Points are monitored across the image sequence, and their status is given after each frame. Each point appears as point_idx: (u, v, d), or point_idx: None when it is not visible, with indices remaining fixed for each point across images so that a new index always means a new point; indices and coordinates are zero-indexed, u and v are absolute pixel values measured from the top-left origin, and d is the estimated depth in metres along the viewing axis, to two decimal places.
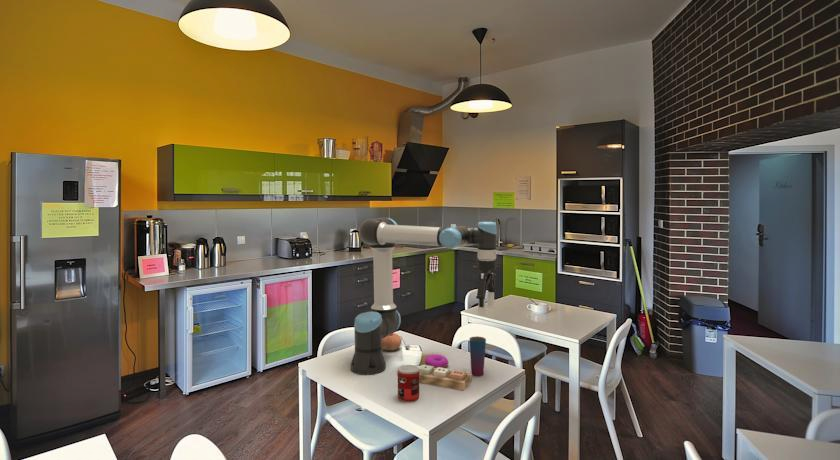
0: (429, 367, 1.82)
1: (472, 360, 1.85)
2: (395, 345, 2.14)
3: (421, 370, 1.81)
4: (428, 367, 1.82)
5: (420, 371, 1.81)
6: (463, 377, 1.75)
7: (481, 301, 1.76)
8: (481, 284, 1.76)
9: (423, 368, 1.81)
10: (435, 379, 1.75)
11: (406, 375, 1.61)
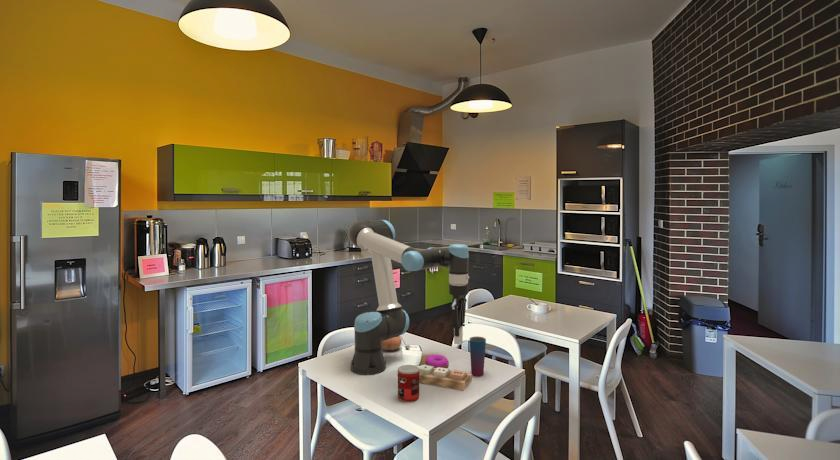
0: (429, 367, 1.82)
1: (472, 360, 1.85)
2: (395, 345, 2.14)
3: (421, 370, 1.81)
4: (428, 367, 1.82)
5: (420, 371, 1.81)
6: (463, 377, 1.75)
7: (456, 330, 1.73)
8: (454, 314, 1.71)
9: (423, 368, 1.81)
10: (435, 379, 1.75)
11: (406, 375, 1.61)
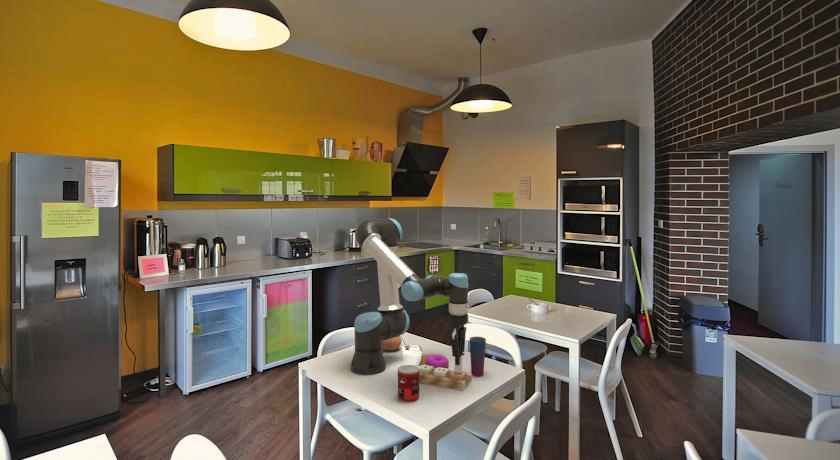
0: (429, 367, 1.82)
1: (472, 360, 1.85)
2: (395, 345, 2.14)
3: (421, 370, 1.81)
4: (428, 367, 1.82)
5: (420, 371, 1.81)
6: (463, 377, 1.75)
7: (457, 359, 1.74)
8: (454, 344, 1.71)
9: (423, 368, 1.81)
10: (435, 379, 1.75)
11: (406, 375, 1.61)
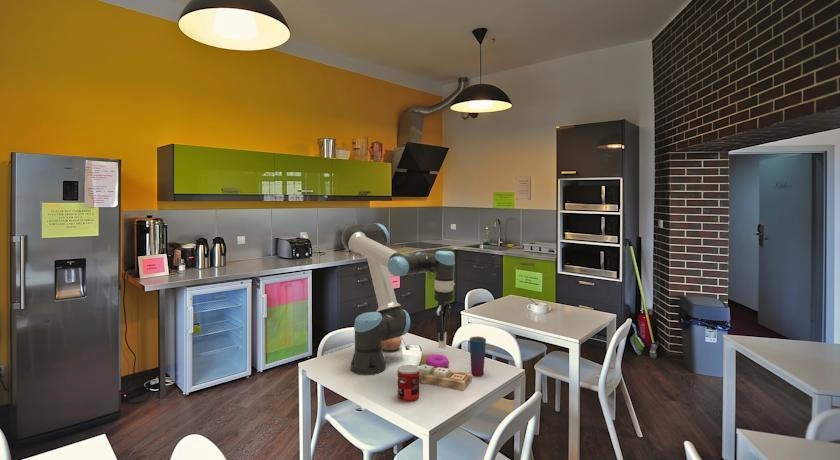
0: (429, 367, 1.82)
1: (472, 360, 1.85)
2: (395, 345, 2.14)
3: (421, 370, 1.81)
4: (428, 367, 1.82)
5: (420, 371, 1.81)
6: None
7: (441, 335, 1.77)
8: (439, 320, 1.74)
9: (423, 368, 1.81)
10: (435, 379, 1.75)
11: (406, 375, 1.61)
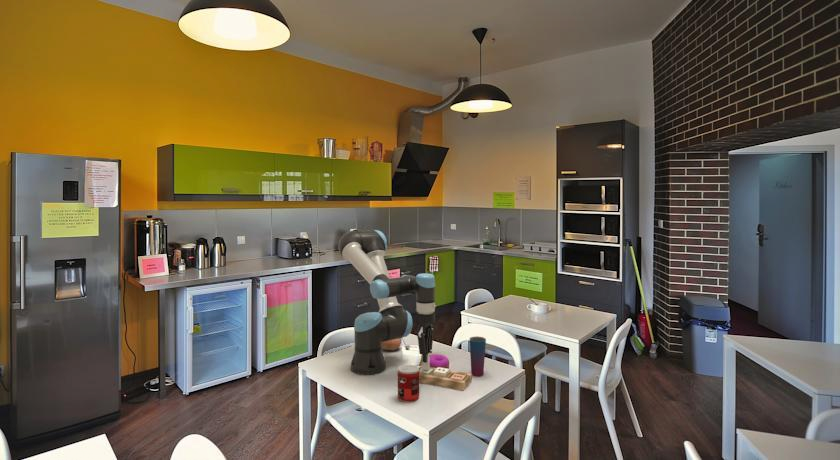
0: (429, 370, 1.83)
1: (472, 360, 1.85)
2: (395, 345, 2.14)
3: None
4: (428, 370, 1.83)
5: None
6: None
7: (424, 357, 1.80)
8: (421, 342, 1.77)
9: (423, 371, 1.81)
10: (435, 379, 1.75)
11: (406, 375, 1.61)
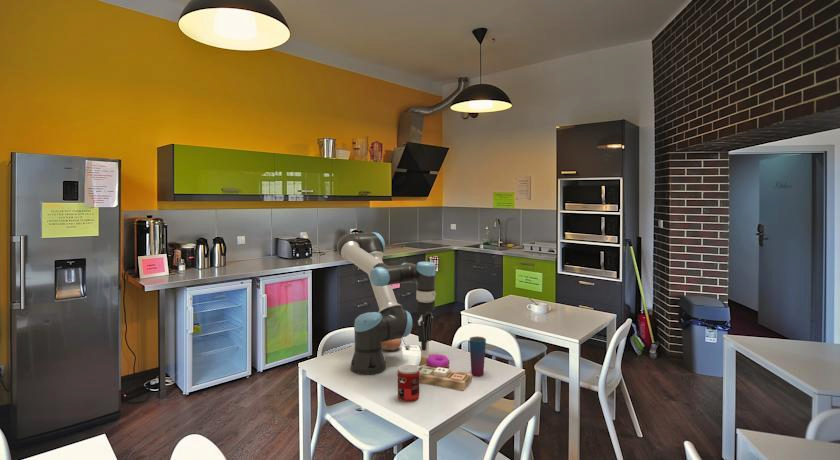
0: (429, 371, 1.83)
1: (472, 360, 1.85)
2: (395, 345, 2.14)
3: None
4: (428, 371, 1.83)
5: None
6: None
7: (423, 344, 1.80)
8: (420, 330, 1.77)
9: (423, 372, 1.81)
10: (435, 379, 1.75)
11: (406, 375, 1.61)
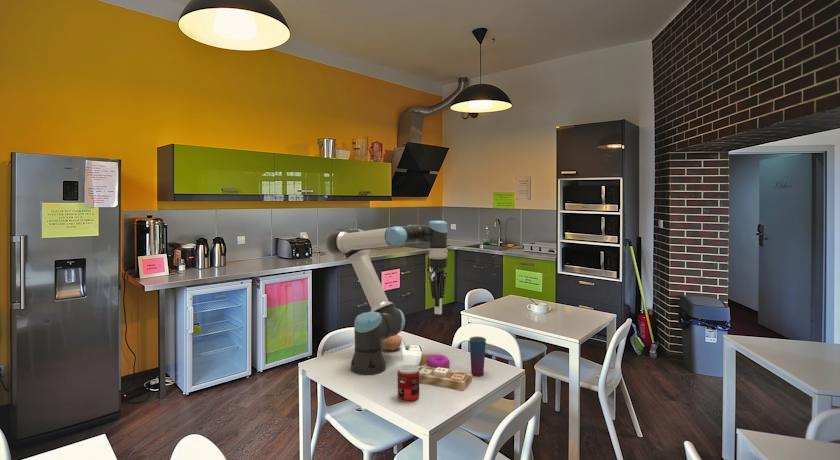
0: (429, 371, 1.83)
1: (472, 360, 1.85)
2: (395, 345, 2.14)
3: None
4: (428, 371, 1.83)
5: None
6: None
7: (436, 301, 1.86)
8: (433, 286, 1.83)
9: (423, 372, 1.81)
10: (435, 379, 1.75)
11: (406, 375, 1.61)
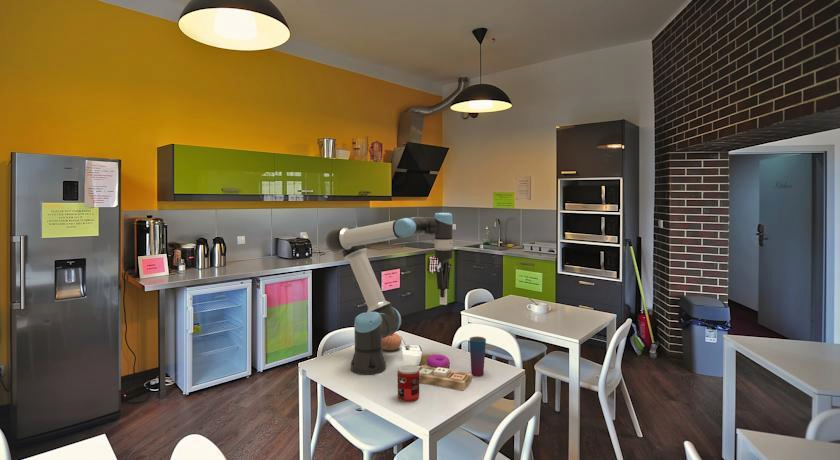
0: (429, 371, 1.83)
1: (472, 360, 1.85)
2: (395, 345, 2.14)
3: None
4: (428, 371, 1.83)
5: None
6: None
7: (442, 291, 1.88)
8: (439, 277, 1.85)
9: (423, 372, 1.81)
10: (435, 379, 1.75)
11: (406, 375, 1.61)
